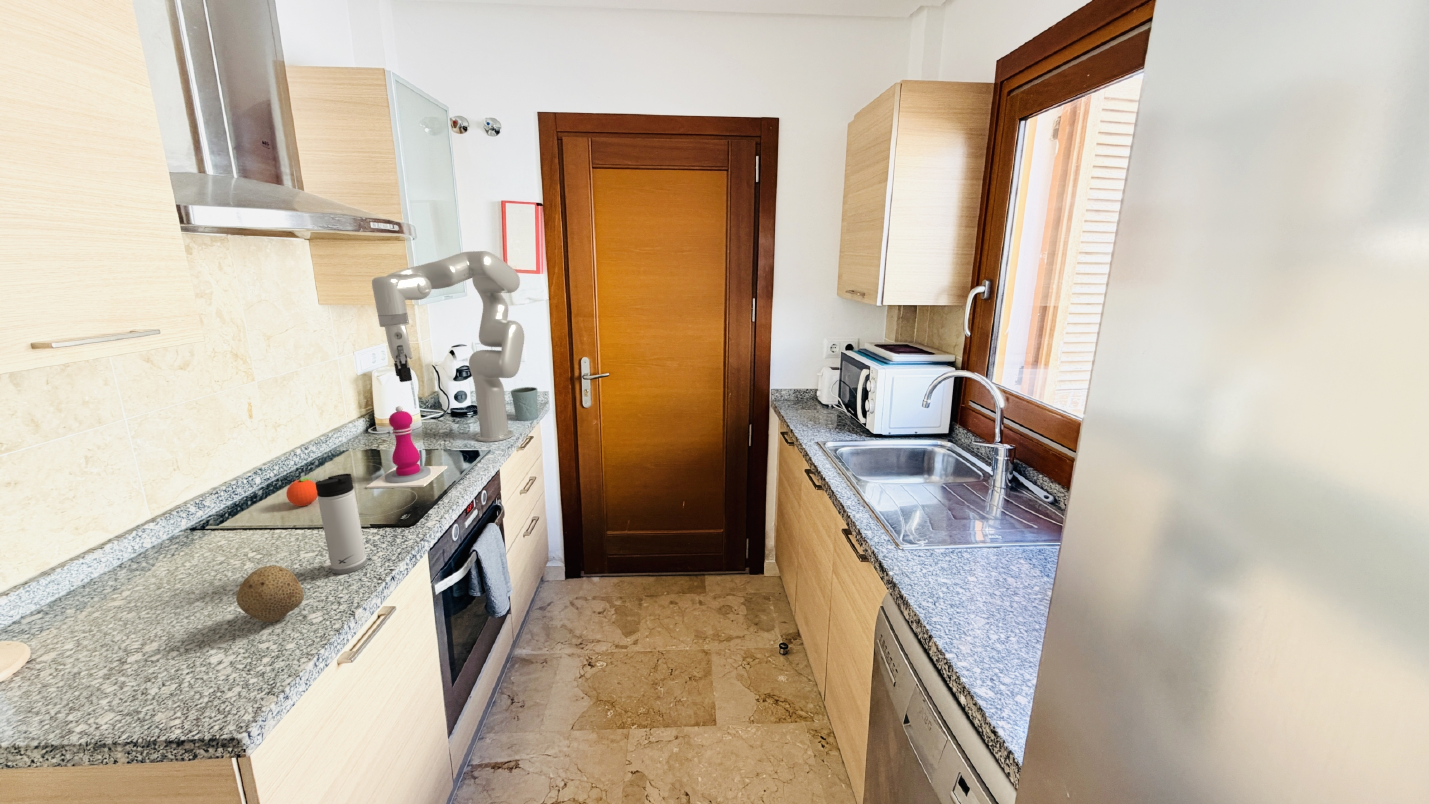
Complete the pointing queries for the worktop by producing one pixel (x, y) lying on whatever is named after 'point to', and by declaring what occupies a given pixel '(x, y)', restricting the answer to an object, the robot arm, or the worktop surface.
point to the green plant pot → (525, 403)
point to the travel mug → (341, 523)
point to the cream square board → (407, 478)
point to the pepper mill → (404, 444)
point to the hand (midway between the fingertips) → (404, 378)
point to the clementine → (302, 492)
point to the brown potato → (269, 593)
